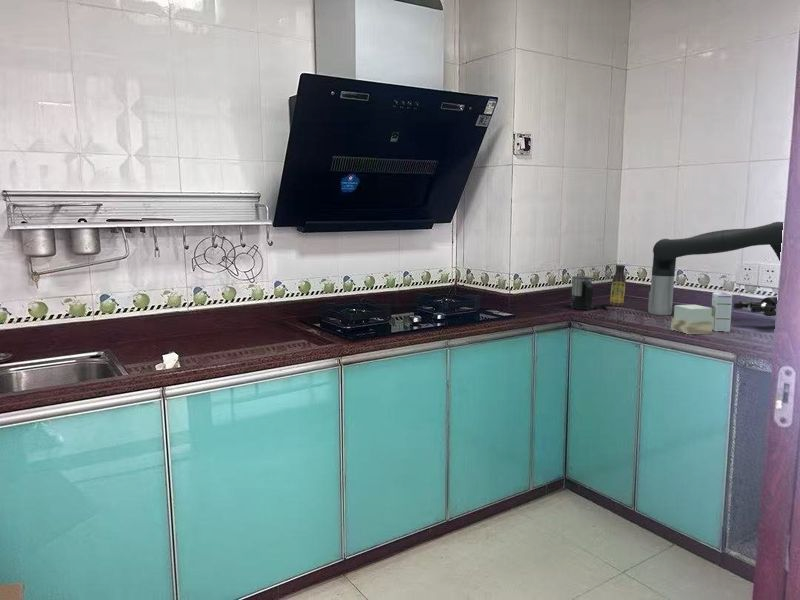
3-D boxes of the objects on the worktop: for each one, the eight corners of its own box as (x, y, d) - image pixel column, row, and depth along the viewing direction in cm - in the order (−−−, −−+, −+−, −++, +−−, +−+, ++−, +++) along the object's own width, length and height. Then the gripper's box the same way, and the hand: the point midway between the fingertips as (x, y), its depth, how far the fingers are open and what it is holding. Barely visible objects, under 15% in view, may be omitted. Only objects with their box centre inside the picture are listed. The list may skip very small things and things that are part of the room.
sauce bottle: (609, 306, 287) (612, 264, 284) (609, 304, 293) (612, 263, 290) (624, 306, 285) (626, 265, 282) (624, 305, 291) (626, 264, 288)
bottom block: (670, 330, 231) (671, 318, 230) (692, 329, 233) (693, 317, 232) (688, 336, 221) (690, 322, 220) (711, 334, 224) (712, 321, 223)
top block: (673, 318, 230) (674, 305, 229) (694, 317, 232) (695, 304, 231) (690, 322, 221) (691, 309, 220) (710, 321, 223) (712, 308, 222)
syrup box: (730, 332, 227) (733, 294, 225) (713, 331, 228) (716, 293, 226) (725, 329, 233) (728, 292, 230) (709, 328, 234) (712, 291, 232)
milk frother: (566, 307, 283) (567, 276, 281) (591, 305, 289) (593, 274, 287) (587, 312, 270) (588, 279, 268) (613, 309, 277) (615, 278, 274)
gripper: (762, 294, 242) (729, 295, 238) (793, 299, 228) (759, 300, 224) (760, 312, 243) (727, 314, 239) (791, 319, 229) (757, 320, 225)
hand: (742, 307), depth 232 cm, fingers open, 8 cm apart
